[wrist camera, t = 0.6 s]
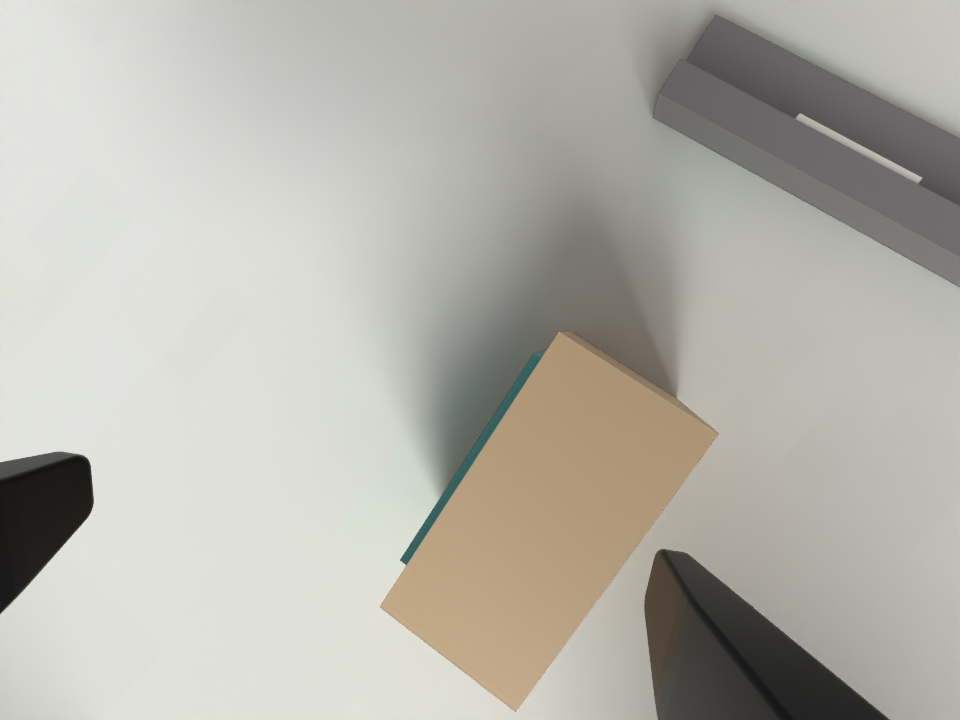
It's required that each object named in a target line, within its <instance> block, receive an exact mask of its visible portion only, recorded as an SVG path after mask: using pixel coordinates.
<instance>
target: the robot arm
mask: <svg viewBox="0 0 960 720" xmlns="http://www.w3.org/2000/svg"><path fill="white" fill-rule="evenodd" d="M93 504H94V497H93V486H92V475H91V465H90V462H89V460H88V459H87V458H86V457H85V456H83V455H79V454H73V453H67V452H53V453H48V454H42V455H37V456H32V457H26V458H21V459H16V460H10V461H5V462H0V614H1V613H2V612H3V611H4V610H5V609H6V608H7V607H8V606H9V605H10V604H11V603H12V602H13V601H14V600H15V599H16V598H17V597H18V596H19V595H20V593H21V592H22V591H23V590H24V589H25V588H26V587H27V586H28V585H29V584H30V583H31V581H32V580H33V579H34V578H35V577H36V576H37V575H38V573H39V572H40V571H41V570H42V569H43V568H44V567H45V566H46V564H47V563H48V562H49V561H50V560H51V559H52V558H53V556H54V555H55V554H56V553H57V552H58V551H59V550H60V549H61V547H62V546H63V545H64V544H65V543H66V542H67V541H68V540H69V538H70V537H71V536H72V535H73V534H74V533H75V532H76V530H77V529H78V528H79V527H80V526H81V525H82V524H83V523H84V521H85V520H86V519H87V518H88V516H89V515H90V513H91V511H92V508H93ZM644 608H645V619H646V628H647V637H648V645H649V654H650V662H651V671H652V680H653V688H654V697H655V704H656V711H657V717H658V720H890V719H888V718H887V717H886V716H885V715H884V714H882V713H881V712H880V711H879V710H877V709H876V708H875V707H874V706H873V705H871V704H870V703H869V702H868V701H866V700H865V699H864V698H863V697H862V696H860V695H859V694H858V693H857V692H856V691H854V690H853V689H852V688H851V687H849V686H848V685H847V684H846V683H845V682H843V681H842V680H841V679H840V678H838V677H837V676H836V675H835V674H834V673H832V672H831V671H830V670H829V669H827V668H826V667H825V666H824V665H823V664H821V663H820V662H819V661H818V660H816V659H815V658H814V657H813V656H812V655H810V654H809V653H808V652H807V651H806V650H804V649H803V648H802V647H801V646H799V645H798V644H797V643H796V642H795V641H793V640H792V639H791V638H790V637H788V636H787V635H786V634H785V633H784V632H782V631H781V630H780V629H779V628H777V627H776V626H775V625H774V624H773V623H771V622H770V621H769V620H768V619H766V618H765V617H764V616H763V615H762V614H760V613H759V612H758V611H757V610H756V609H754V608H753V607H752V606H751V605H749V604H748V603H747V602H746V601H745V600H743V599H742V598H741V597H740V596H738V595H737V594H736V593H735V592H734V591H732V590H731V589H730V588H729V587H727V586H726V585H725V584H724V583H723V582H721V581H720V580H719V579H718V578H716V577H715V576H714V575H713V574H712V573H710V572H709V571H708V570H707V569H706V568H704V567H703V566H702V565H701V564H699V563H698V562H697V561H696V560H695V559H693V558H692V557H691V556H690V555H688V554H687V553H684V552H678V551H672V550H666V549H661V550H659V551H658V552H657V553H656V555H655V558H654V562H653V566H652V570H651V574H650V578H649V582H648V586H647V590H646V595H645V605H644Z"/></svg>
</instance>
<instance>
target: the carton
mask: <svg viewBox="0 0 960 720" xmlns="http://www.w3.org/2000/svg"><path fill="white" fill-rule="evenodd" d="M718 434H719V433H717V432H716V431H715V430H714V429H713V428H711V427H710V426H709V425H708V424H707V423H705V422H704V421H703V420H702V419H701V418H700V417H698V416H697V415H696V414H695V413H694V412H692V411H691V410H690V409H689V408H688V407H686V406H685V405H684V404H683V403H682V402H680V401H679V400H678V399H677V398H675V397H674V396H672V395H670V394H669V393H667V392H666V391H664V390H663V389H661V388H659V387H658V386H656V385H655V384H653V383H652V382H650V381H648V380H647V379H645V378H644V377H642V376H641V375H639V374H637V373H636V372H634V371H633V370H631V369H630V368H628V367H626V366H625V365H623V364H622V363H620V362H619V361H617V360H615V359H614V358H612V357H611V356H609V355H608V354H606V353H604V352H603V351H601V350H600V349H598V348H596V347H595V346H593V345H592V344H590V343H589V342H587V341H585V340H584V339H582V338H581V337H579V336H578V335H576V334H574V333H573V332H558V334H557V335H556V337H555V338H554V340H553V341H552V343H551V344H550V346H549V347H548V349H545V350H543V351H540V352H537V353H534V354H533V355H532V357H531V359H530V360H529V362H528V363H527V365H526V366H525V368H524V369H523V371H522V372H521V374H520V376H519V377H518V379H517V380H516V382H515V383H514V385H513V386H512V388H511V389H510V391H509V393H508V394H507V396H506V397H505V399H504V400H503V402H502V403H501V405H500V406H499V408H498V410H497V411H496V413H495V414H494V416H493V417H492V419H491V420H490V422H489V423H488V425H487V427H486V428H485V430H484V431H483V433H482V434H481V436H480V437H479V439H478V440H477V442H476V444H475V445H474V447H473V448H472V450H471V451H470V453H469V454H468V456H467V457H466V459H465V461H464V462H463V464H462V465H461V467H460V468H459V470H458V471H457V473H456V474H455V476H454V477H453V479H452V481H451V482H450V484H449V485H448V487H447V488H446V490H445V491H444V493H443V494H442V496H441V498H440V499H439V501H438V502H437V504H436V505H435V507H434V508H433V510H432V511H431V513H430V515H429V516H428V518H427V519H426V521H425V522H424V524H423V525H422V527H421V528H420V530H419V532H418V533H417V535H416V536H415V538H414V539H413V541H412V542H411V544H410V545H409V547H408V549H407V550H406V552H405V553H404V555H403V556H402V558H401V559H400V561H402V562H403V563H404V564H406V567H405V569H404V570H403V572H402V573H401V575H400V576H399V578H398V579H397V581H396V582H395V584H394V585H393V587H392V588H391V590H390V592H389V593H388V595H387V596H386V598H385V599H384V601H383V602H382V604H381V605H380V608H381V609H383V610H384V611H385V612H387V613H388V614H389V615H390V616H392V617H393V618H394V619H396V620H397V621H398V622H400V623H401V624H402V625H403V626H405V627H406V628H407V629H409V630H410V631H411V632H412V633H414V634H415V635H416V636H418V637H419V638H420V639H422V640H423V641H424V642H425V643H427V644H428V645H429V646H431V647H432V648H433V649H435V650H436V651H437V652H438V653H440V654H441V655H442V656H444V657H445V658H446V659H448V660H449V661H450V662H451V663H453V664H454V665H455V666H457V667H458V668H459V669H460V670H462V671H463V672H464V673H466V674H467V675H468V676H470V677H471V678H472V679H473V680H475V681H476V682H477V683H479V684H480V685H481V686H483V687H484V688H485V689H486V690H488V691H489V692H490V693H492V694H493V695H494V696H496V697H497V698H498V699H499V700H501V701H502V702H503V703H505V704H506V705H507V706H508V707H510V708H511V709H512V710H514V711H515V712H516V711H517V709H518V708H519V706H520V705H521V704H522V702H523V701H524V700H525V698H526V697H527V696H528V694H529V693H530V691H531V690H532V689H533V687H534V686H535V685H536V683H537V682H538V680H539V679H540V678H541V676H542V675H543V674H544V672H545V671H546V670H547V668H548V667H549V665H550V664H551V663H552V661H553V660H554V659H555V657H556V656H557V654H558V653H559V652H560V650H561V649H562V648H563V646H564V645H565V644H566V642H567V641H568V639H569V638H570V637H571V635H572V634H573V633H574V631H575V630H576V629H577V627H578V626H579V624H580V623H581V622H582V620H583V619H584V618H585V616H586V615H587V613H588V612H589V611H590V609H591V608H592V607H593V605H594V604H595V603H596V601H597V600H598V598H599V597H600V596H601V594H602V593H603V592H604V590H605V589H606V587H607V586H608V585H609V583H610V582H611V581H612V579H613V578H614V577H615V575H616V574H617V572H618V571H619V570H620V568H621V567H622V566H623V564H624V563H625V561H626V560H627V559H628V557H629V556H630V555H631V553H632V552H633V551H634V549H635V548H636V546H637V545H638V544H639V542H640V541H641V540H642V538H643V537H644V535H645V534H646V533H647V531H648V530H649V529H650V527H651V526H652V525H653V523H654V522H655V520H656V519H657V518H658V516H659V515H660V514H661V512H662V511H663V509H664V508H665V507H666V505H667V504H668V503H669V501H670V500H671V499H672V497H673V496H674V494H675V493H676V492H677V490H678V489H679V488H680V486H681V485H682V483H683V482H684V481H685V479H686V478H687V477H688V475H689V474H690V473H691V471H692V470H693V468H694V467H695V466H696V464H697V463H698V462H699V460H700V459H701V457H702V456H703V455H704V453H705V452H706V451H707V449H708V448H709V447H710V445H711V444H712V442H713V441H714V440H715V438H716V437H717V436H718Z"/></svg>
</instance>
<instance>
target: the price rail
mask: <svg viewBox="0 0 960 720" xmlns="http://www.w3.org/2000/svg"><path fill="white" fill-rule="evenodd" d="M653 118H655V119H657V120H659V121H660V122H662V123H664V124H666V125H668V126H670V127H671V128H673V129H675V130H677V131H679V132H680V133H682V134H684V135H686V136H688V137H689V138H691V139H693V140H695V141H697V142H698V143H700V144H702V145H704V146H706V147H707V148H709V149H711V150H713V151H715V152H717V153H718V154H720V155H722V156H724V157H726V158H727V159H729V160H731V161H733V162H735V163H736V164H738V165H740V166H742V167H744V168H745V169H747V170H749V171H751V172H753V173H755V174H756V175H758V176H760V177H762V178H764V179H765V180H767V181H769V182H771V183H773V184H774V185H776V186H778V187H780V188H782V189H783V190H785V191H787V192H789V193H791V194H792V195H794V196H796V197H798V198H800V199H802V200H803V201H805V202H807V203H809V204H811V205H812V206H814V207H816V208H818V209H820V210H821V211H823V212H825V213H827V214H829V215H830V216H832V217H834V218H836V219H838V220H840V221H841V222H843V223H845V224H847V225H849V226H850V227H852V228H854V229H856V230H858V231H859V232H861V233H863V234H865V235H867V236H868V237H870V238H872V239H874V240H876V241H877V242H879V243H881V244H883V245H885V246H887V247H888V248H890V249H892V250H894V251H896V252H897V253H899V254H901V255H903V256H905V257H906V258H908V259H910V260H912V261H914V262H915V263H917V264H919V265H921V266H923V267H925V268H926V269H928V270H930V271H932V272H934V273H935V274H937V275H939V276H941V277H943V278H944V279H946V280H948V281H950V282H952V283H953V284H955V285H957V286H959V287H960V139H959V138H957V137H955V136H953V135H951V134H949V133H947V132H945V131H943V130H941V129H939V128H937V127H935V126H934V125H932V124H930V123H928V122H926V121H924V120H922V119H920V118H918V117H916V116H914V115H912V114H910V113H908V112H906V111H904V110H902V109H900V108H898V107H896V106H894V105H892V104H890V103H888V102H887V101H885V100H883V99H881V98H879V97H877V96H875V95H873V94H871V93H869V92H867V91H865V90H863V89H861V88H859V87H857V86H855V85H853V84H851V83H849V82H847V81H845V80H843V79H842V78H840V77H838V76H836V75H834V74H832V73H830V72H828V71H826V70H824V69H822V68H820V67H818V66H816V65H814V64H812V63H810V62H808V61H806V60H804V59H802V58H800V57H798V56H797V55H795V54H793V53H791V52H789V51H787V50H785V49H783V48H781V47H779V46H777V45H775V44H773V43H771V42H769V41H767V40H765V39H763V38H761V37H759V36H757V35H755V34H753V33H751V32H750V31H748V30H746V29H744V28H742V27H740V26H738V25H736V24H734V23H732V22H730V21H728V20H726V19H724V18H722V17H720V16H718V15H715V16H714V18H713V20H712V21H711V23H710V24H709V26H708V27H707V29H706V31H705V32H704V34H703V35H702V37H701V38H700V40H699V42H698V43H697V45H696V46H695V48H694V49H693V51H692V53H691V54H690V56H689V57H688V59H687V60H686V61H685V60H683V59H680V60H679V62H678V64H677V65H676V67H675V68H674V70H673V72H672V73H671V75H670V76H669V78H668V79H667V81H666V83H665V84H664V86H663V87H662V89H661V90H660V92H659V94H658V98H657V102H656V106H655V110H654V114H653Z"/></svg>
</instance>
